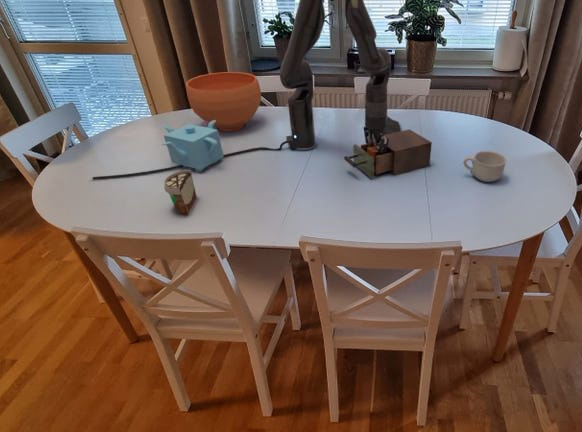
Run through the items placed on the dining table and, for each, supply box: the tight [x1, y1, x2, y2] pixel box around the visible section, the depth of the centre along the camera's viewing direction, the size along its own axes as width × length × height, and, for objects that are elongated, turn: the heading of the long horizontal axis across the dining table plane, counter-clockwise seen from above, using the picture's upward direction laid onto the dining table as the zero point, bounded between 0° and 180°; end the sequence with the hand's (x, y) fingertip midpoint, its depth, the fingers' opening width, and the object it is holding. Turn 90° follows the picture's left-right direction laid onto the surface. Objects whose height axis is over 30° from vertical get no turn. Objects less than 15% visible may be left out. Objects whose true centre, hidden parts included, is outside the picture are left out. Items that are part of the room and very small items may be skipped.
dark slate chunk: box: [384, 115, 402, 135], centre depth 172 cm, size 15×22×5 cm
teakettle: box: [161, 120, 225, 173], centre depth 143 cm, size 19×19×15 cm
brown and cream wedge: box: [163, 169, 198, 216], centre depth 120 cm, size 12×6×10 cm, turn 5°
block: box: [367, 146, 384, 163], centre depth 140 cm, size 4×4×4 cm
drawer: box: [343, 142, 393, 179], centre depth 141 cm, size 20×13×7 cm, turn 119°
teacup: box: [462, 150, 507, 183], centre depth 136 cm, size 14×11×8 cm
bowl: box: [185, 71, 262, 132], centre depth 173 cm, size 30×30×20 cm
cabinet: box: [379, 129, 433, 176], centre depth 145 cm, size 16×14×9 cm
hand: (375, 158), depth 141 cm, fingers closed on block, 4 cm apart
